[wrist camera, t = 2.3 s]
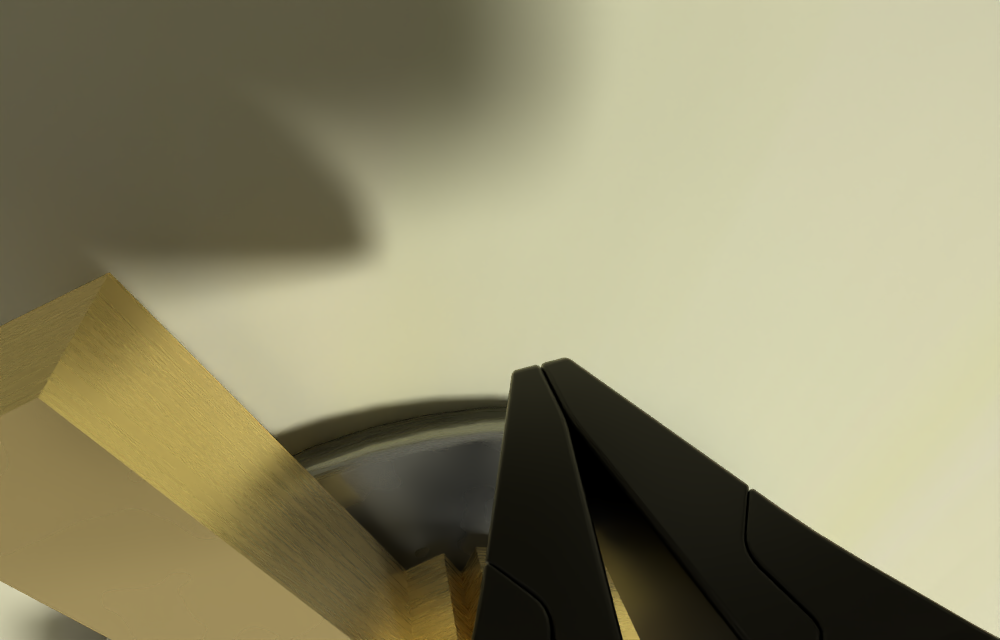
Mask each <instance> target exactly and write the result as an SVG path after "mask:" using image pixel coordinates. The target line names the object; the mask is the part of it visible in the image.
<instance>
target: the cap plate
mask: <svg viewBox="0 0 1000 640" xmlns="http://www.w3.org/2000/svg"><path fill="white" fill-rule="evenodd" d="M506 411H507V407H500V408H478V409H470V410H463V411H455V412H448V413H440V414H433V415H425V416H421V417H416V418H412V419H408V420H403V421H399V422H395V423H390V424H386V425H382V426H377V427H373V428H369V429H366V430H363V431H360V432H357V433H354V434H351V435H348V436H345V437H342V438H339V439H336V440H332V441H329V442H326V443H323V444H320V445H317V446H314V447H312V448H310V449H308V450H305V451H303V452H301V453H299V454H296V455H294V456H293V457H294V458H295V459H296V460H297V461H298V462H299V463H300V464H301V465H302V466H303V467H304V468H305V469H306V470H307V471H308V472H309V473H310V474H311V475H312V476H313V477H314V478H315V479H316V480H317V481H318V482H319V483H320V484H321V485H322V486H323V487H324V488H325V489H326V490H327V491H328V492H329V493H330V494H331V495H332V496H333V497H334V498H335V499H336V500H337V501H338V502H339V503H340V504H341V505H342V506H343V507H344V508H345V509H346V510H347V511H348V512H349V513H350V514H351V515H352V516H353V517H354V518H355V519H356V520H357V521H358V522H359V523H360V524H361V525H362V526H363V527H364V528H365V529H366V530H367V531H368V532H369V533H370V534H371V535H372V536H373V537H374V538H375V539H376V541H377V542H378V543H379V544H380V545H381V546H382V547H383V548H384V549H385V550H386V551H387V552H388V553H389V554H390V555H391V556H392V557H393V558H394V559H395V560H396V561H397V562H398V563H399V564H400V565H401V566H402V567H403V568H404V569H405V570H407V569H409V568H411V567H414V566H416V565H418V564H420V563H422V562H425V561H427V560H429V559H431V558H434V557H436V556H438V555H440V554H443V553H444V554H445V555H446V557H447V558H448V559H449V560H450V561H451V562H452V563H453V565H454V566H455V567H456V568H457V569H458V570H459V571H460V572H461V573H462V571H463V569H464V567H465V566H466V564H467V562H468V560H469V559H470V557H471V555H472V553H473V552H474V550H475V548H476V547H487V542H488V535H489V528H490V521H491V515H492V508H493V501H494V494H495V487H496V480H497V473H498V466H499V459H500V452H501V445H502V439H503V432H504V425H505V418H506ZM106 640H111V639H109V638H107V637H106Z"/></svg>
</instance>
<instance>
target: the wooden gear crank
mask: <svg viewBox="0 0 1000 640" xmlns="http://www.w3.org/2000/svg"><path fill="white" fill-rule="evenodd" d="M486 549H487V547H476V548H475V550H474V552H473V553H472V555H471V557H470V559H469V560H468V562H467V564H466V566H465V567H464V569H463V571H462V573H461V572H460V571H459V570H458V569H457V568H456V567H455V566H454V565H453V563H452V562H451V561H450V560H449V559H448V558H447V557H446V555H445V554H444V553H443V554H440V555H438V556H436V557H434V558H431V559H429V560H427V561H425V562H422V563H420V564H418V565H416V566H414V567H411V568H409V569H407V570H405V569H404V568H403V567H402V566H401V565H400V564H399V563H398V562H397V561H396V560H395V559H394V558H393V557H392V556H391V555H390V554H389V553H388V552H387V551H386V550H385V549H384V548H383V547H382V546H381V545H380V544H379V543H378V542H377V541H376V539H375V538H374V537H373V536H372V535H371V534H370V533H369V532H368V531H367V530H366V529H365V528H364V527H363V526H362V525H361V524H360V523H359V522H358V521H357V520H356V519H355V518H354V517H353V516H352V515H351V514H350V513H349V512H348V511H347V510H346V509H345V508H344V507H343V506H342V505H341V504H340V503H339V502H338V501H337V500H336V499H335V498H334V497H333V496H332V495H331V494H330V493H329V492H328V491H327V490H326V489H325V488H324V487H323V486H322V485H321V484H320V483H319V482H318V481H317V480H316V479H315V478H314V477H313V476H312V475H311V474H310V473H309V472H308V471H307V470H306V469H305V468H304V467H303V466H302V465H301V464H300V463H299V462H298V461H297V460H296V459H295V458H294V457H293V456H292V455H291V454H290V453H289V452H288V451H287V450H286V449H285V448H284V447H283V446H282V445H281V444H280V443H279V442H278V441H277V440H276V439H275V438H274V437H273V436H272V435H271V434H270V433H269V432H268V431H267V430H266V429H265V428H264V427H263V426H262V425H261V424H260V423H259V422H258V421H257V420H256V419H255V418H254V417H253V416H252V415H251V414H250V413H249V412H248V411H247V410H246V409H245V408H244V407H243V406H242V405H241V404H240V403H239V402H238V401H237V400H236V399H235V398H234V397H233V396H232V395H231V394H230V393H229V392H228V391H227V390H226V389H225V388H224V387H223V386H222V385H221V384H220V383H219V382H218V381H217V380H216V379H215V378H214V377H213V376H212V375H211V374H210V373H209V372H208V371H207V370H206V369H205V368H204V367H203V366H202V365H201V364H200V363H199V362H198V361H197V360H196V359H195V358H194V357H193V356H192V355H191V354H190V353H189V352H188V351H187V350H186V349H185V348H184V347H183V346H182V345H181V344H180V343H179V342H178V341H177V340H176V339H175V338H174V337H173V336H172V335H171V334H170V333H169V332H168V331H167V330H166V329H165V328H164V327H163V326H162V325H161V324H160V323H159V322H158V321H157V320H156V319H155V318H154V317H153V316H152V315H151V314H150V313H149V312H148V311H147V310H146V309H145V308H144V307H143V306H142V305H141V304H140V303H139V302H138V301H137V300H136V299H135V297H134V296H133V295H132V294H131V293H130V292H129V291H128V290H127V289H126V288H125V287H124V286H123V285H122V284H121V283H120V282H119V281H118V280H117V279H116V278H115V277H114V276H113V275H112V274H111V273H110V272H109V273H107V274H105V275H103V276H101V277H99V278H97V279H95V280H93V281H91V282H89V283H87V284H85V285H83V286H81V287H79V288H77V289H75V290H73V291H71V292H69V293H67V294H65V295H63V296H61V297H59V298H57V299H55V300H52V301H50V302H48V303H46V304H44V305H42V306H40V307H38V308H36V309H34V310H32V311H30V312H28V313H26V314H24V315H22V316H20V317H18V318H16V319H14V320H12V321H10V322H8V323H6V324H4V325H2V326H0V581H2V582H3V583H5V584H7V585H9V586H11V587H13V588H15V589H17V590H18V591H20V592H22V593H24V594H26V595H28V596H30V597H32V598H34V599H35V600H37V601H39V602H41V603H43V604H45V605H47V606H49V607H50V608H52V609H54V610H56V611H58V612H60V613H62V614H64V615H66V616H67V617H69V618H71V619H73V620H75V621H77V622H79V623H81V624H82V625H84V626H86V627H88V628H90V629H92V630H94V631H96V632H98V633H99V634H101V635H103V636H105V637H107V638H109V639H111V640H471V637H472V633H473V627H474V622H475V616H476V611H477V605H478V600H479V594H480V588H481V581H482V574H483V567H484V565H486V563H485V556H486ZM604 566H605V564H604ZM605 570H606V574H607V578H608V582H609V586H610V590H611V594H612V598H613V602H614V606H615V610H616V614H617V618H618V622H619V625H620V629H621V633H622V637H623V640H640V639H639V636H638V634H637V632H636V630H635V628H634V626H633V624H632V622H631V619H630V617H629V615H628V613H627V611H626V609H625V607H624V605H623V602H622V600H621V598H620V596H619V594H618V592H617V590H616V588H615V585H614V583H613V581H612V579H611V577H610V575H609V573H608V571H607V568H606V566H605Z"/></svg>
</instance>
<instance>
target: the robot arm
mask: <svg viewBox="0 0 1000 640" xmlns="http://www.w3.org/2000/svg"><path fill="white" fill-rule="evenodd" d="M485 563H486V565H484V567H483V574H482V581H481V588H480V594H479V600H478V605H477V611H476V616H475V622H474V627H473V633H472V637H471V640H623V637H622V633H621V629H620V625H619V622H618V618H617V614H616V610H615V606H614V602H613V598H612V594H611V590H610V586H609V582H608V578H607V574H606V570H605V566H606V568H607V571H608V573H609V575H610V577H611V579H612V581H613V583H614V585H615V588H616V590H617V592H618V594H619V596H620V598H621V600H622V602H623V605H624V607H625V609H626V611H627V613H628V615H629V617H630V619H631V622H632V624H633V626H634V628H635V630H636V632H637V634H638V636H639V639H640V640H1000V638H998V637H996V636H994V635H992V634H991V633H989V632H987V631H985V630H983V629H981V628H980V627H978V626H976V625H974V624H972V623H971V622H969V621H967V620H965V619H964V618H962V617H960V616H958V615H957V614H955V613H953V612H952V611H950V610H948V609H946V608H945V607H943V606H941V605H939V604H938V603H936V602H934V601H933V600H931V599H929V598H927V597H926V596H924V595H922V594H920V593H919V592H917V591H915V590H914V589H912V588H910V587H908V586H907V585H905V584H903V583H901V582H900V581H898V580H896V579H894V578H893V577H891V576H889V575H888V574H886V573H884V572H882V571H881V570H879V569H877V568H875V567H874V566H872V565H870V564H869V563H867V562H865V561H863V560H862V559H860V558H858V557H857V556H855V555H853V554H852V553H850V552H848V551H847V550H845V549H844V548H842V547H840V546H839V545H837V544H835V543H834V542H832V541H830V540H829V539H827V538H825V537H824V536H822V535H820V534H819V533H817V532H816V531H814V530H813V529H811V528H810V527H808V526H807V525H805V524H804V523H802V522H801V521H799V520H798V519H796V518H795V517H793V516H792V515H790V514H789V513H787V512H786V511H784V510H783V509H781V508H780V507H778V506H777V505H776V504H774V503H773V502H771V501H770V500H768V499H767V498H766V497H764V496H763V495H761V494H760V493H759V492H757V491H756V490H754V489H751V490H749V486H748V485H747V484H746V483H744V482H743V481H741V480H740V479H739V478H737V477H736V476H734V475H733V474H731V473H730V472H729V471H727V470H726V469H724V468H723V467H722V466H720V465H719V464H717V463H716V462H715V461H713V460H712V459H710V458H709V457H708V456H706V455H705V454H703V453H702V452H700V451H699V450H698V449H696V448H695V447H693V446H692V445H691V444H689V443H688V442H686V441H685V440H684V439H682V438H681V437H679V436H678V435H676V434H675V433H674V432H672V431H671V430H669V429H668V428H667V427H665V426H664V425H662V424H661V423H660V422H658V421H657V420H655V419H654V418H653V417H651V416H650V415H648V414H647V413H645V412H644V411H643V410H641V409H640V408H638V407H637V406H636V405H634V404H633V403H631V402H630V401H629V400H627V399H626V398H624V397H623V396H621V395H620V394H619V393H617V392H616V391H614V390H613V389H612V388H610V387H609V386H607V385H606V384H605V383H603V382H602V381H600V380H599V379H598V378H596V377H595V376H593V375H592V374H590V373H589V372H588V371H586V370H585V369H583V368H582V367H581V366H579V365H578V364H576V363H575V362H574V361H572V360H571V359H569V358H561V359H557V360H553V361H549V362H545V363H543V364H542V366H541V368H540V367H539V366H537V365H533V366H530V367H526V368H522V369H518V370H515V371H514V372H513V373H512V376H511V383H510V390H509V397H508V404H507V411H506V418H505V425H504V432H503V439H502V445H501V452H500V459H499V466H498V473H497V480H496V487H495V494H494V501H493V508H492V515H491V521H490V528H489V535H488V542H487V549H486V556H485ZM604 564H605V566H604Z"/></svg>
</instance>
